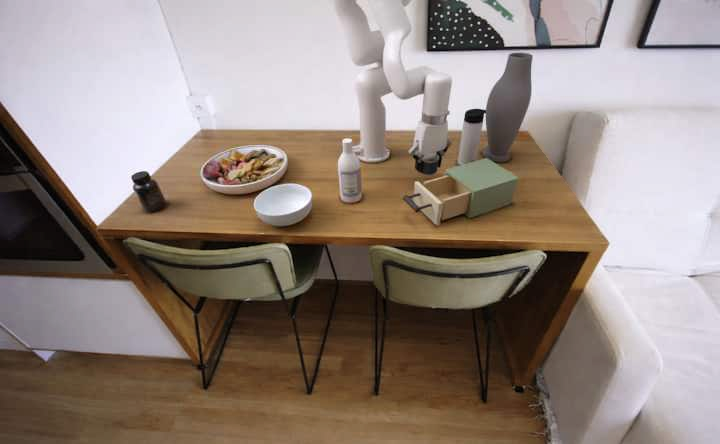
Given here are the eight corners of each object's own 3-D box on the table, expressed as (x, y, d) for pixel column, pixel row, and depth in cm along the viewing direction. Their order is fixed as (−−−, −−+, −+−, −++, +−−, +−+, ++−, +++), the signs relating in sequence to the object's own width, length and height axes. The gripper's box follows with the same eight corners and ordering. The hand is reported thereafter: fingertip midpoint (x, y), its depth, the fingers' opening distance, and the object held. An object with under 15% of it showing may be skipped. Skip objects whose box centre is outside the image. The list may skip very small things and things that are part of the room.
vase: (471, 153, 131) (488, 54, 109) (494, 144, 136) (515, 47, 114) (499, 167, 122) (524, 62, 100) (522, 156, 127) (551, 54, 105)
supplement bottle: (142, 205, 113) (125, 174, 105) (164, 198, 116) (149, 167, 108) (146, 215, 108) (128, 183, 101) (169, 207, 111) (153, 175, 104)
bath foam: (365, 199, 110) (363, 142, 97) (345, 206, 107) (341, 147, 95) (356, 189, 115) (353, 133, 102) (337, 195, 112) (331, 138, 100)
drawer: (419, 230, 95) (421, 209, 90) (397, 207, 104) (398, 186, 100) (478, 211, 101) (482, 190, 96) (452, 190, 110) (455, 170, 105)
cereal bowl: (311, 197, 112) (308, 179, 108) (318, 228, 99) (315, 209, 95) (258, 206, 109) (253, 188, 105) (259, 239, 97) (253, 220, 92)
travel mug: (476, 169, 122) (487, 114, 109) (457, 168, 123) (465, 113, 110) (475, 160, 126) (485, 107, 114) (457, 159, 128) (464, 106, 115)
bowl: (271, 149, 141) (267, 131, 136) (303, 179, 121) (299, 159, 116) (196, 172, 129) (189, 153, 124) (218, 209, 109) (210, 189, 104)
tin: (419, 175, 113) (421, 162, 110) (416, 165, 118) (417, 152, 115) (439, 174, 113) (441, 161, 110) (434, 164, 118) (436, 151, 115)
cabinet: (469, 218, 100) (474, 191, 94) (441, 194, 110) (445, 169, 104) (511, 203, 105) (518, 177, 99) (481, 182, 115) (486, 157, 109)
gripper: (450, 107, 109) (443, 157, 120) (402, 117, 104) (399, 168, 115) (465, 116, 103) (455, 167, 115) (415, 127, 98) (411, 179, 110)
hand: (427, 167), depth 115 cm, fingers closed on tin, 6 cm apart
